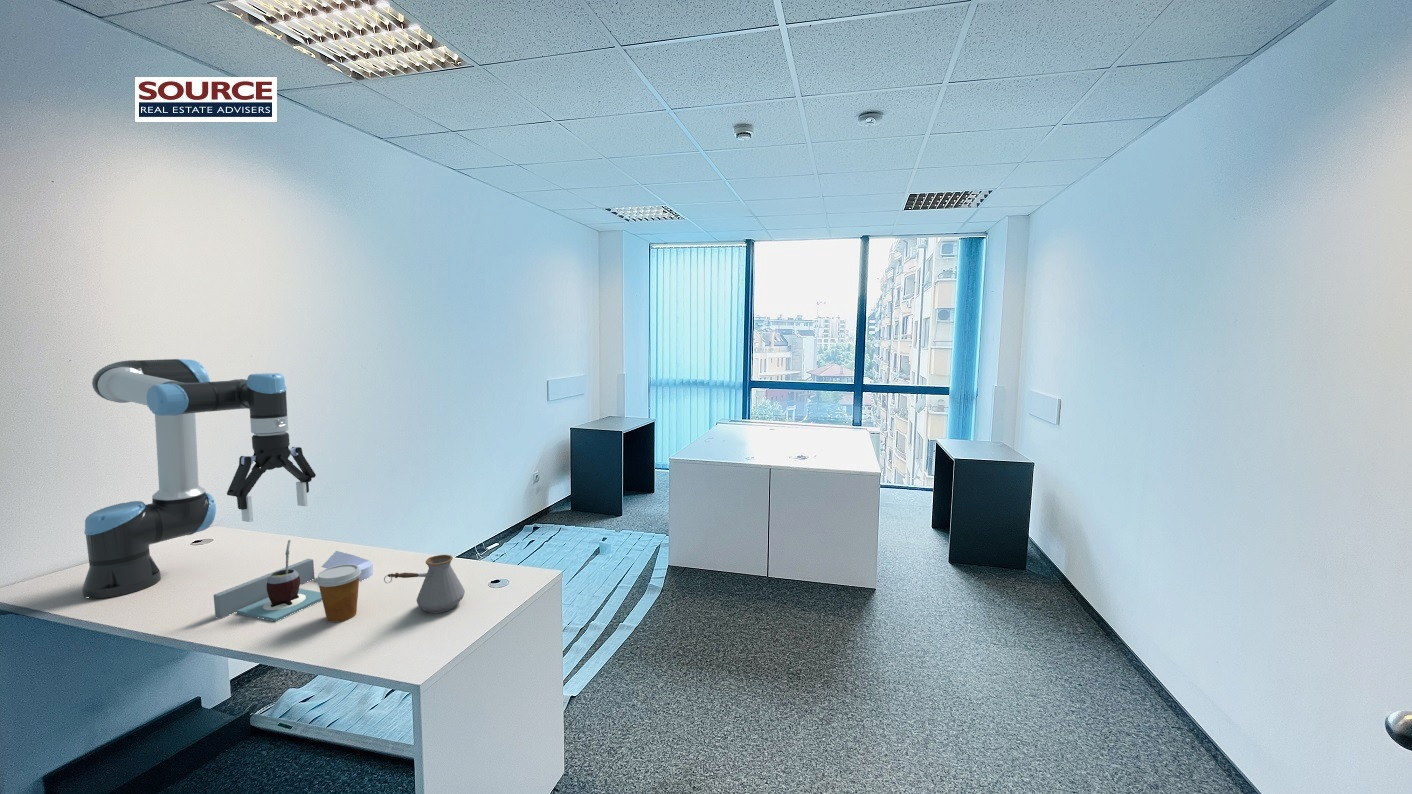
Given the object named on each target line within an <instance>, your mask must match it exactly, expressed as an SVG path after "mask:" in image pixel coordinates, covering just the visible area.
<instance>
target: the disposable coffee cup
mask: <svg viewBox="0 0 1412 794" xmlns="http://www.w3.org/2000/svg"><path fill="white" fill-rule="evenodd" d="M360 574H361V570H360V569H359V566H358V565H355V564H344V565H338V566H333V567H330V568H324V569H323V570H321V571H319V573H318V574H317V578H316V579H315V582H316V584H317V586H318V587H319V592H321V597H322V601H321V602H322V606H323V609H324V613H325V617H326V618H325V619H326V621H327V622H329V623H339V622H340V623H341V622H344V621H347V620H350V619H352V618H353V617H355V616H356V615H357V611H358V610H357V609H358V597H359V584H360V582H359V577H360Z"/></svg>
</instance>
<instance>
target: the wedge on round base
mask: <svg viewBox="0 0 1412 794" xmlns="http://www.w3.org/2000/svg"><path fill="white" fill-rule="evenodd" d="M344 564H355V565H358V566H359V569H360V570H361V574H360V577H359V581H360V582H363V581H365V580H364V579H366V580H368V579H370V578H371V577H373V575H374V568H373V561H371V560H370V559H369V560H368V559H366V558H363V557H360V556H356V555H354V554H351V553H347V552H346V553H345V552H343V551H339V550H335V552H333V554H332V555H331V556H330V557H329V558H328V559H327V560H326V561H325V562H324V563H323V564H322V566H321V568H323V569H327V568H330V567H333V566H338V565H344ZM370 576H371V577H370ZM369 577H370V578H369ZM367 578H368V579H367ZM362 580H363V581H362Z"/></svg>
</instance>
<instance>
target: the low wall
mask: <svg viewBox="0 0 1412 794" xmlns="http://www.w3.org/2000/svg"><path fill="white" fill-rule="evenodd" d="M314 565H315V564H314V559H313V558H307V559H304V560H301V561H298V562H295V563H293V564H291V565H288V569H293V570H295V571H296V572H298V574H299V576H300V584H302V585H304V584H306V583H305V582H307V581H309V582H311V581H313V580H312V579H314V580H316V579H315V566H314ZM280 570H286V566H285V567H282V568H280V569H278V570H275V571H272V572H269V573H268V574H264V575H262V576H259V577H257V578H254V579H251V580H248V581H246V582H244V583H241V584H238V585H236V586H232V587H231V588H228V589H225V590H222V591H220V592H217V593H215V594H213V595H212V596H213V604H214V615H215V618H216V617H217V619H223V617H224V618H226V617H228V616H230V615H229V614H231V615H233V614H235V613H237V610H239V609H242V608H244V607H247V606H249V605H251V604H254V603H256V602H258V601H261V600H263V599H266V598H268V597H269V596H268V593H267V580H268V578H269V577H270V575H271V574H273V573H275V572H277V571H280ZM310 580H311V581H310ZM303 583H304V584H303ZM307 583H308V582H307ZM234 612H235V613H234ZM232 613H233V614H232ZM227 615H228V616H227ZM225 616H226V617H225Z"/></svg>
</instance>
